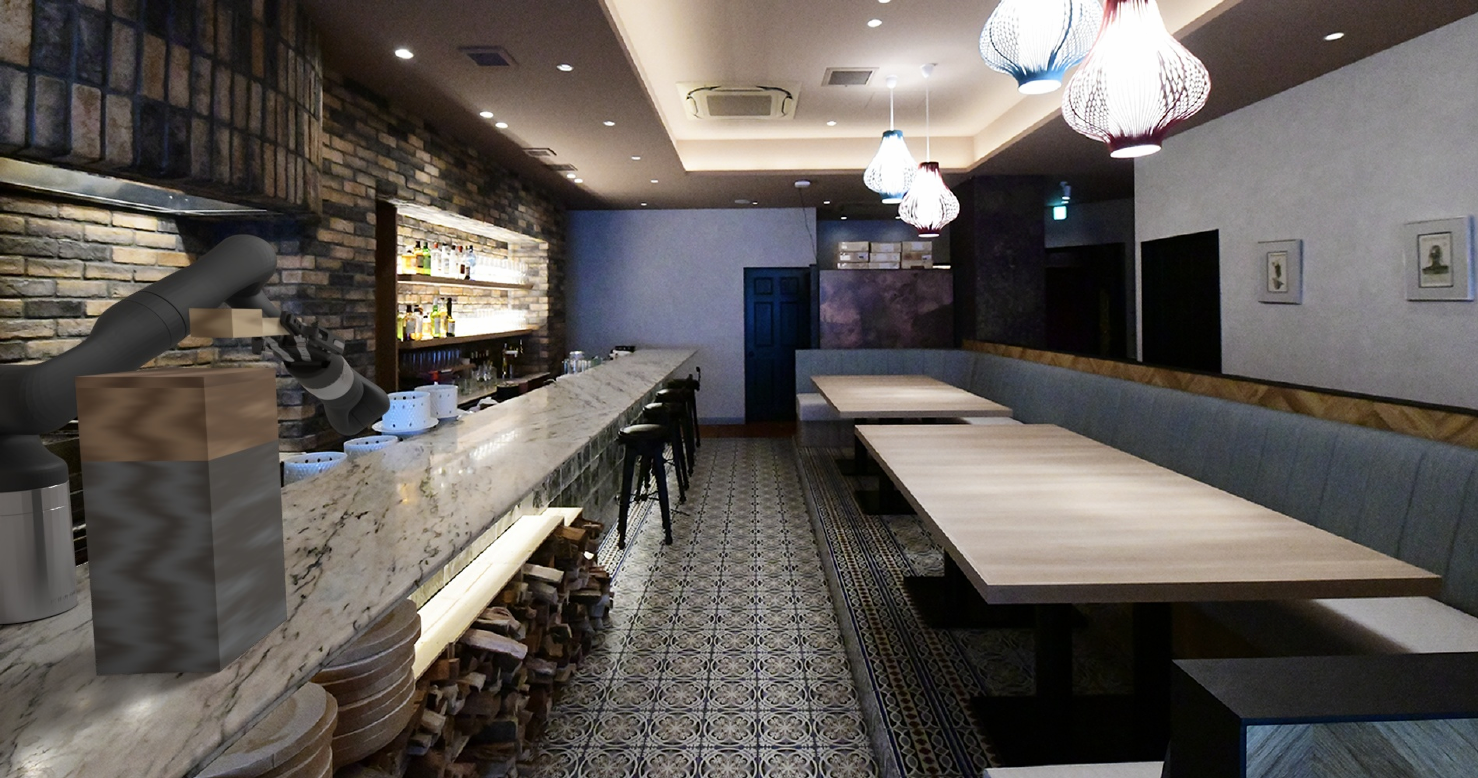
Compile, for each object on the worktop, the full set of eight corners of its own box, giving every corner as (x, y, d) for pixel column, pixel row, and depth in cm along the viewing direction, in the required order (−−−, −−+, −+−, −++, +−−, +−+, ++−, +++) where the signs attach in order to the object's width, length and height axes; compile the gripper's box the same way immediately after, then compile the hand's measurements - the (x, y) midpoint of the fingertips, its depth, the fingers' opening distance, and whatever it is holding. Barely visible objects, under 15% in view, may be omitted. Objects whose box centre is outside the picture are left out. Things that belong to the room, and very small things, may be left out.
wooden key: (190, 337, 94) (189, 308, 94) (274, 333, 114) (273, 309, 114) (233, 337, 95) (231, 308, 95) (309, 334, 115) (308, 310, 114)
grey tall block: (96, 675, 84) (74, 376, 81) (182, 621, 99) (167, 367, 96) (220, 671, 85) (203, 376, 82) (287, 618, 100) (275, 367, 97)
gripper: (280, 348, 125) (224, 292, 109) (369, 348, 126) (326, 293, 110) (270, 390, 122) (211, 338, 106) (361, 390, 123) (316, 339, 107)
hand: (270, 316), depth 108 cm, fingers closed on wooden key, 3 cm apart
